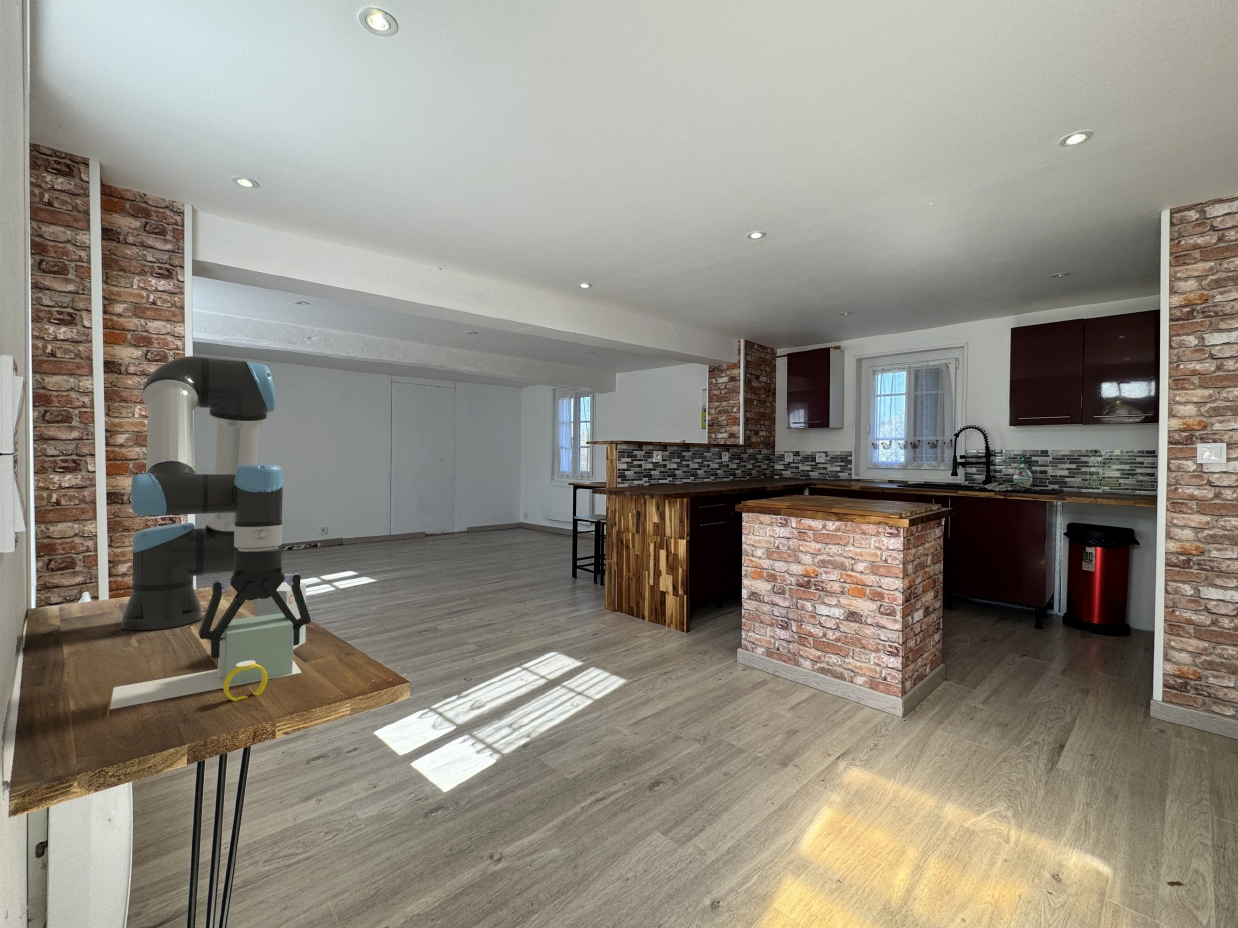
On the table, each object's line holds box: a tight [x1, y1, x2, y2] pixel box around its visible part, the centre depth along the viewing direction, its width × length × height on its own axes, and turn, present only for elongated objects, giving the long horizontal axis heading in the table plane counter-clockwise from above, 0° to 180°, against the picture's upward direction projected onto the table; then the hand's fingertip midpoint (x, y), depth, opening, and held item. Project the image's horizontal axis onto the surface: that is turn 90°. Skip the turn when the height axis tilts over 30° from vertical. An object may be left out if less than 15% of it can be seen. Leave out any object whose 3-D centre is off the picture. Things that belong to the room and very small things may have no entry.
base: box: [109, 660, 303, 710], centre depth 102 cm, size 11×26×1 cm, turn 129°
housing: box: [221, 613, 294, 685], centre depth 106 cm, size 10×10×9 cm
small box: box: [255, 582, 307, 650], centre depth 121 cm, size 8×6×13 cm
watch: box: [222, 660, 269, 702], centre depth 95 cm, size 6×3×6 cm, turn 141°
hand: (256, 668), depth 106 cm, fingers closed on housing, 10 cm apart
